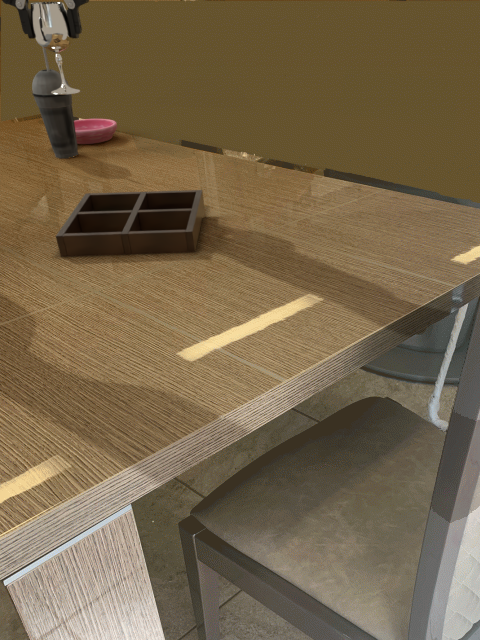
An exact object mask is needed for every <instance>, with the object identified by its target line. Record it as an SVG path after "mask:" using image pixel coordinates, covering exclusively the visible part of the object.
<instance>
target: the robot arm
mask: <svg viewBox="0 0 480 640" xmlns="http://www.w3.org/2000/svg"><path fill="white" fill-rule="evenodd" d="M1 1H2V2H3V3H4V4H5V5H9V6H12V7H14V8H15V9H16V10H17V12H18V16H19V21H20V25H21V29H22V32H23V33H24V35H27V37H28V39H29V40H31V39H32V40H33V39H35V36H34V33H33V30H32V24H31V8H29V3H30V0H1ZM63 1H64V3H65V4H66V7H67V9H66V11H67V16H68V21H69V26H70V31H71V36H72V38H73V39H79V38H80V34H82V31H83V27H82V22H81V17H80V11H79V10H80V7H81V6H84V5H86V4H88V3H89V2H90V0H63Z"/></svg>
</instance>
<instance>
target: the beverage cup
mask: <svg viewBox="0 0 480 640" xmlns="http://www.w3.org/2000/svg"><path fill="white" fill-rule="evenodd" d="M42 52H43V58H44V63H45V67H46V69H41V70H39V71H38V72H37V73H36V74H35V75H34V77H33V79H32V83H31V90H32V96H33V98H34V101H35V104H36V107H38V109H39V113H40V115H41V119H42V122H43V125H44V127H45V131H46V134H47V136H48V140H49V143H50V146H51V149H52V151H53V154H54V156H55V158H57V159H70V158H69V157H72V158H74V157H73V156H76V155H78V156H79V151H78V149H79V148H78V144H77V139H76V132H75V125H74V121H75V120H74V119H75V117H74V112H73V96H72V95H73V94H66V95H58V94H52V93H51V92H52V91H53V90H56V89H58V88H60V87H61V85H62V79H61V74H60V71H57V70H54V69H51V68H50V64H49V60H48V55H47V54H48V53H47V49H45V48H43V47H42ZM64 79H65V82H66V84H67V85H68V86H69V87H71V86H70V84H69V82H68V81H67V78H65V77H64ZM76 157H77V156H76Z"/></svg>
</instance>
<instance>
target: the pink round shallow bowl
mask: <svg viewBox="0 0 480 640" xmlns="http://www.w3.org/2000/svg"><path fill="white" fill-rule="evenodd" d="M74 125H75V132H76V139H77V145H93V144H99V143H104V142H108V141H110V140H112V138H113V136H114V134H115V133H116V131H117V129H118V124H117V121H116V120H113V119H108V118H83V119H75V120H74Z"/></svg>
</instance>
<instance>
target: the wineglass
mask: <svg viewBox="0 0 480 640" xmlns="http://www.w3.org/2000/svg"><path fill="white" fill-rule="evenodd" d="M30 9H31V24H32V30H33V33H34V36H35V38H34V39H35V41H36V42H37V44H38V45H39V46H40V47H42V49H43V48H45V49H46V51H49V52H53V53H55V57H54V58H55V62H56V64H57V66H58V70H59V73H60V74H61V79H62V85H61V87H60V88H58V89H56V90H53V91H52V92H51V93H52V94H58V95H66V94H71V95H74V94H78V93H80V92H81V89H78V88H73V87H71V86H70V85H69V86H70V87H69V86H68V85H67V84H66V82H65V79H66V78H65V74H64V67H63V58H62V55H61V52H63V51H65V50H66V49H68V48H69V47H70V46H71V45H72V43H73V41H74V38H72V36H71V31H70V26H69V21H68V16H67V11H66V10H67V9H66V7H65V4H64V2H61V1H37V2H36V1H35V2H30ZM64 78H65V79H64Z"/></svg>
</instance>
